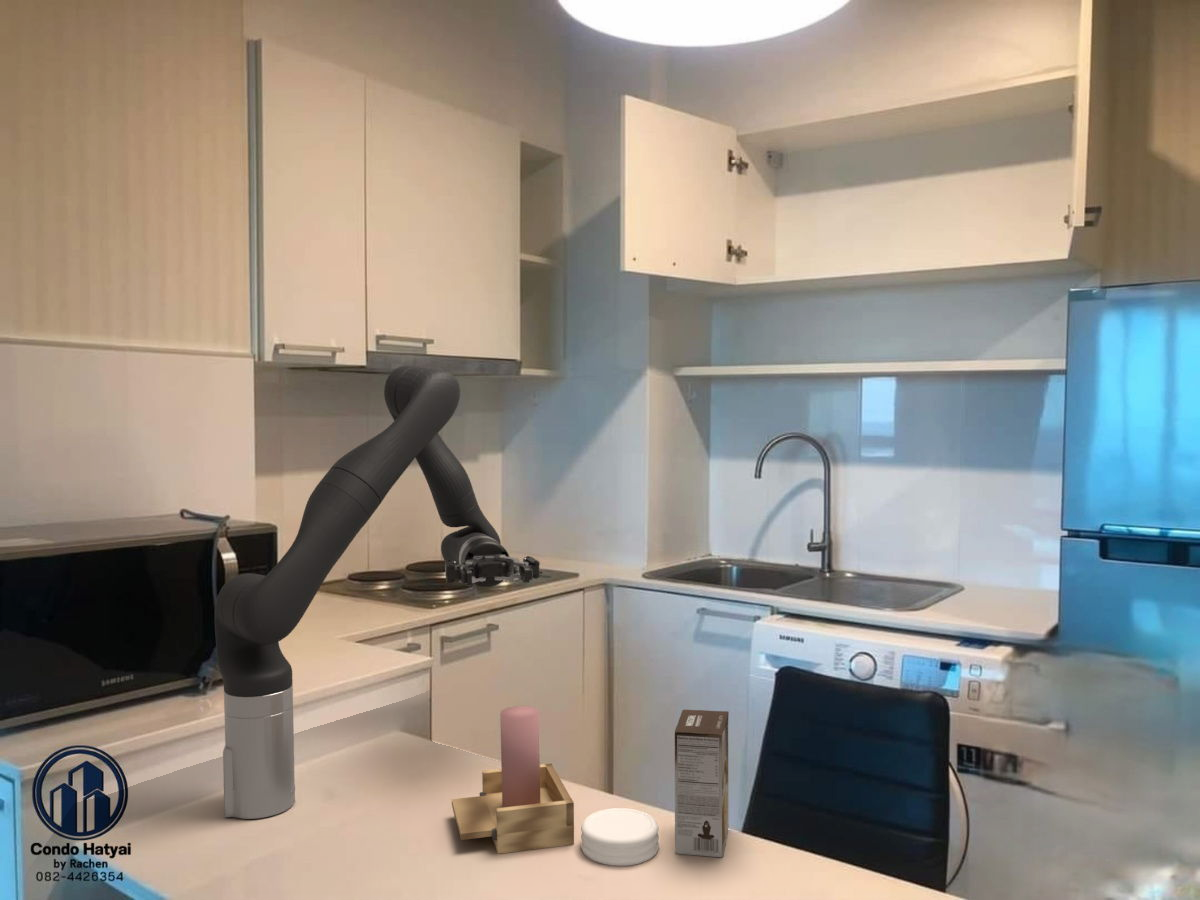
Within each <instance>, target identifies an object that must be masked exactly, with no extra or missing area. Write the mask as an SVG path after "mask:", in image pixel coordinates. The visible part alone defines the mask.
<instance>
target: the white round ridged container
mask: <svg viewBox="0 0 1200 900" xmlns="http://www.w3.org/2000/svg"><path fill="white" fill-rule="evenodd" d="M580 830H581V834H580V838H581V844H580V847H581V850H582V853H583V854H584V855H585V856H586V857H587V858H589V860H591V861H594V862H596V863H598V864H602V865H605V866H606V865H607V866H615V867H624V866H625V867H626V866H627V867H628V866H634V865H639V864H642V863H645V862H647V861H649V860H650V859H652V858H653V857H654V856H655V855H656V854H657V853H658V850H659V846H660V845H659V837H660V836H659V823H658V821H657V820H656V819H655V817H653V816H652V815H650V814H648V813H646V812H645V811H642V810H639V809H633V808H627V807H615V808H614V807H613V808H605V809H601V810H597V811H595V812H593V813H591V814H589V815H588V816H587V817H586V818H584V820H583V821H582V823H581V826H580Z"/></svg>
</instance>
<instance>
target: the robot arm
mask: <svg viewBox="0 0 1200 900" xmlns="http://www.w3.org/2000/svg"><path fill="white" fill-rule="evenodd" d="M383 390H384V392H383V397H384V402H385V404H386V408H387V409H388V412H389V413H390V415H391V417H392V419H393V422H392V423H391V424H389V426H387V428H385V429H384V430H383V431H382V432H380V433H378V434H377V435H375V436H374V437H372V438H370V439H368V440H367V441H364V442H363V443H361V444H360V445H358V446H356V447H355V448H353V449H351V450H350V451H349V452H347V453H346V454H343V456H341V457H340V458H339V459H338V460H337V461H336V462H335V463H334V464H332V466H331V467H330V469H328V471H327V472H326V473H325V474H324V476H323V477H322V478H321V480H320V481H319V482H318V483H317V485H316V486H315V487H314V489H313V491H312V492H311V494H310V496H309V497H308V500H307V501H306V505H305V508H304V511H303V514H302V518H301V521H300V525H299V528H298V531H297V535H296V536H295V538H294V541H292V542H293V543H292V544H291V546H290V547H289V548H288V550H287V551H286V552H285V554H284V555H283V556H282V557H281V559H279V561H278V562H277V563H276V565H275V566H274V567H273V568H272V569H271V570H269V572H268V573H267V574H266V575H263V574H258V573H251V572H249V573H241V574H238V575H235V576H233V577H232V578H230V579H229V580H227V581H226V583H224V585H222V587H221V589H220V591H219V593H218V595H217V597H216V601H215V607H214V633H215V647H216V650H215V651H216V662H217V667H218V670H219V673H220V675H221V677H222V682H223V704H224V705H223V706H224V707H223V709H224V741H225V743H224V748H223V751H222V761H223V762H222V766H223V767H222V770H223V802H224V803H223V805H224V806H223V810H224V811H223V812H224V818H238V819H244V820H245V819H246V820H247V819H248V820H250V819H252V820H253V819H255V820H256V819H263V818H267V817H268V818H269V817H272V816H276V815H279V814H281V813H284V812H286V811H288V810H289V809H290V808H292V807H293V806H294V804H295V803H296V802H295V801H296V785H295V782H296V781H295V741H294V740H295V739H294V738H295V737H294V735H295V734H294V732H295V731H294V692H293V691H294V689H293V684H294V683H293V669H292V666H291V663H290V662H289V661H288V659H287V658H286V657H285V655H284V654H283V652H282V649H281V647H280V644H279V642H280V641H282V640H283V639H285V638H287V637H288V636H289V635H290V634H291V633H292V632H293V631H294V630H295V628H296V627H297V626H298V625H299V623H300V622H301V620H302V619H303V616H304V615H305V613H306V611H307V610H308V609H309V607H310V605H311V603H312V601H313V600H314V598H315V596H316V595H317V593H318V592H319V589H320V588H321V586H322V584H323V583H324V581H325V580H326V578H327V576H328V575H329V574H330V572H331V570H332V569H333V567H335V565H336V563H337V562H338V561H339V560H340V559H341V557H342V555H343V554H344V553H345V552H346V550H347V549H348V547H349V546H350V544H351V543H352V542H353V540H354V539H355V538H356V536H357V535H358V533H360V531H361V530H362V528H363V527H364V526H365V525H366V524H367V522H368V521H369V520H370V519H371V517H372V516H373V515H374V514H375V512H376V511H377V510H378V507H380V505H381V504H382V503H383V501H384V499H385V498H386V496H387V494H388V493H389V492H390V491H391V490H392V488H393V487H394V485H395V484H396V483H397V482H398V481H399V479H400V478H401V476H402V475H403V474H404V473H405V472H406V470H407V468H408V467H409V466H410V465H411V464H412V462H413V461H414V460H416V462H417V464H418V466H419V467H420V469H421V471H422V474H423V476H424V479H425V480H426V482H427V483H426V484H427V485H428V488H429V490H430V493H431V497H432V500H433V502H434V505H435V507H436V511H437V513H438V516H439V519H440V520H441V522H442V524H443V525H444V526H446V527H449V528H461V529H459V530H455V531H453V532H450V533H448V534H447V535H445V536H444V538H443V539H442V541H441V545H440V552H441V555H442V558H443V561H444V562H445V563H444V567H445V568H444V569H445V570H444V571H445V572H444V573H445V574H444V575H445V576H444V577H445V580H446V583H449V584H452V583H455V581H456V580H458V583H461V584H465V586H467V587H470V586H477V587H479V588H483V589H484V588H487V589H489V588H493V587H496V586H498V585H500V584H501V583H502V582H503V581H508V582H509V581H510V582H513V581H517V580H518V581H519V580H521V581H522V582H523V583H524V584H529V583H530V581H532V580H533V579H536V580H537V579H538V578H540V577H541V576H540V564H541V563H540V561H539V560H538V559H536V558H534V557H533V556H528V555H527V556H525V557H524V558H522V561H520V559H519V558H518V557H511V556H510V554H509V552H508V551H507V549H506V548H505V547H504V546H503V545H502V544H501V543H502V541H501V538H500V536H499V534H498V532H497V531H496V529H495V528H494V526H493V525H492V524H491V522H489V520H488V519H487V517H486V516H485V515H484V513H483V511H482V510H481V508H480V505H479V503H478V501H477V497H476V494H475V491H474V488H473V485H472V483H471V480H470V477H469V475H468V473H467V471H466V469H465V468H464V466H463V465H462V462H460V460H458V458H457V457H456V455H455V454H454V453H453V452H452V450H451V449H450V447H448V445H447V444H446V443H445V441H444V440H443V439H442V437H441V435H440V434H439V432H440V431H441V430H442V429H443V428H444V427H445V426H446V425H447V424H448V422H449V421H450V420H451V418H453V415H454V414H455V412H456V410H457V408H458V406H459V402H460V397H461V388H460V383H459V381H458V379H457V378H456V377H455V376H454V375H453V374H452V373H450V372H448V371H446V370H442V369H437V368H432V367H425V366H417V365H416V366H415V365H402V366H399V367H397V368H395V369H393V370H392V371H391V372H390V374H389V375H388V377H387V378H386V380H385V384H384V389H383Z"/></svg>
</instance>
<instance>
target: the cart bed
mask: <svg viewBox="0 0 1200 900" xmlns="http://www.w3.org/2000/svg"><path fill="white" fill-rule="evenodd" d="M481 772H482V773H481V774H482V776H481V778H482V780H481V781H482V783H481V784H482V791H481V792H479V795H477V796H470V797H459V798H454V799H453V798H452V799H451V808H452V812H453V815H454V819H455V821H456V822H455V823H456V827H457V829H458V834H459V839H460V841H464V840H472V839H480V838H488V837H491V840H492V841H493V844H494V847H495V849H496V853H497V854H498V855H499V854H509V853H516V852H525V851H530V850H532V851H533V850H538V849H539V850H540V849H547V848H554V847H562V846H569V845H575V807H574V806H575V804H574V803H575V802H574V801H573V798H572V797H571V795H570V793H569V791H568V790H567V788H566V786H565V785H564V783H563V781H562V780H561V778H560V776H559V774H558V772H557V771H556V769H555V768H554V765H553V764H552V763H543V764H540V803H539V804H530V805H522V806H513V807H505V808H502V768H497V769H496V768H495V769H487V770H482V771H481Z"/></svg>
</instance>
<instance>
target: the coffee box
mask: <svg viewBox="0 0 1200 900" xmlns="http://www.w3.org/2000/svg"><path fill="white" fill-rule="evenodd" d="M728 831H729V711H725V710H723V711H722V710H706V709H705V710H702V709H683V710H682V711H681V714H680V717H679V719H678V722H677V725H676V727H675V730H674V852H675V854H677V855H688V856H700V857H701V856H703V857H713V858H723V857H724V853H725V849H726V843H727V838H728Z"/></svg>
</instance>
